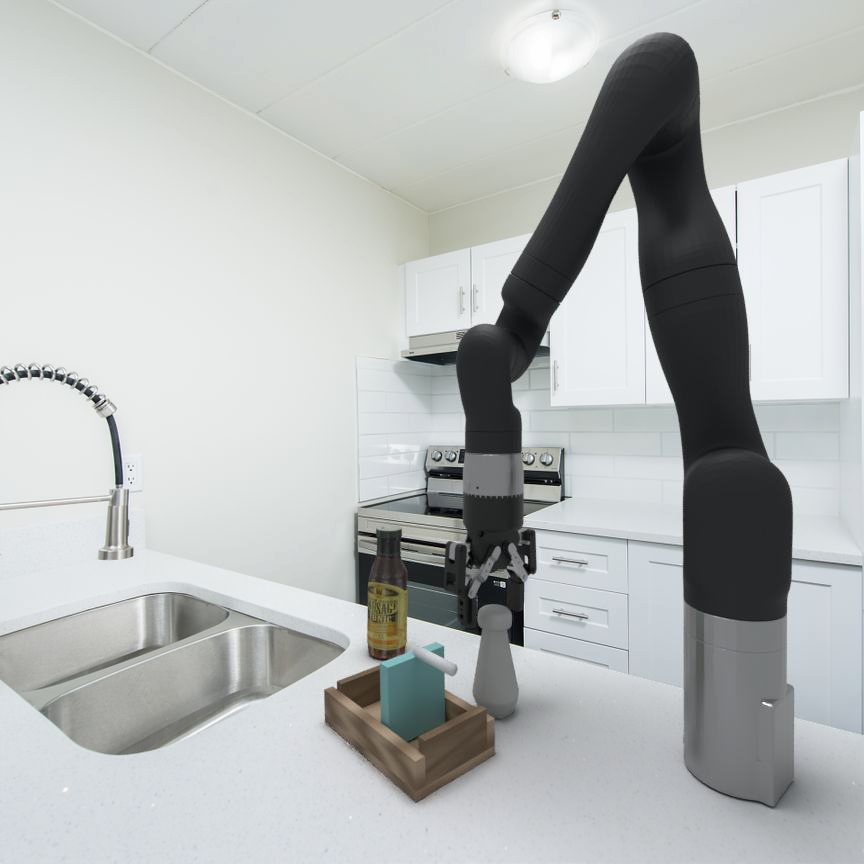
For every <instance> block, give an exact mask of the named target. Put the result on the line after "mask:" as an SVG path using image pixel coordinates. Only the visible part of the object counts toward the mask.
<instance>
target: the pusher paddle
mask: <svg viewBox="0 0 864 864" xmlns="http://www.w3.org/2000/svg"><path fill="white" fill-rule="evenodd" d="M379 665H380V697H381V723H382V724H383V725H385V726H386V727H387V728H389V729H390V730H391V731H393V732H394V733H395V734H397V735H398V736H399V737H400V738H402V739H403V740H404V741H406V742H407V741H409V740H411V739H413V738H415V737H417V736H419V735H421V734H423V733H425V732H427V731H429V730H431V729H433V728H435V727H437V726H439V725H441V724H443V723H445V690H446V689H445V688H446V681H445V680H446V678H445V676H446V675H445V674H447V675H448V676H450V677H454V676H456V674H457V673H458V670H459V669H458V666H457V664H455V663H454V662H452V661H449V660H447V659H445V646H444V645H443V644H442V643H438V642H432V643H429V644H427V645H424V646H420V645H416V646H415V647H414V648H413V650H411V651H408V652H404V653H403V654H402V655H400V656H397V657H394V658H392V659H385V660H384V661H381V662H379Z"/></svg>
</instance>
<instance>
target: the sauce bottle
mask: <svg viewBox="0 0 864 864" xmlns="http://www.w3.org/2000/svg"><path fill="white" fill-rule="evenodd" d="M402 536H403V529H402V527H401V526H398V525H390V524H388V525H386V524H385V525H380V526H377V527H376V530H375V538H376V552H375V553H376V556H375V558H374V562H373V563H372V566H371V568H370V572H369V578H368V583H367V622H366V623H367V624H366V625H367V626H366V627H367V629H366V630H367V631H366V643H367V651H368V654H369V655H370V656H371V657H373V658H375V659H379V660H383V659H385V660H389V659H392V658H394V657H397V656H400V655H402V654H405V653H406V645H407V643H408V596H409V595H408V591H409V590H408V589H409V588H408V569H407V566H406V565H405V563H404V562H403V558H402V556H401V554H402V551H401V539H402Z"/></svg>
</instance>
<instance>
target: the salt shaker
mask: <svg viewBox="0 0 864 864" xmlns="http://www.w3.org/2000/svg"><path fill="white" fill-rule="evenodd" d="M476 620H477V624H478V627H480V628H481V633H480V634H481V635H480V642H479V648H478V654H477V660H476V667H475V672H474V678H473V684H472V691H471V692H472V696H473V699H474V702H475V703H476V704H475V705H476V707H477V706H479V705H481V706H483V707H485V708H486V709H487V714H488V715H490V716H492V717H493V718H495V719H500V720H501V719H502V720H503V719H505V718H506V717H509V716H510V715H512V714H513V712H514V710H515V707H516V705H517V702H518V700H519V693H520V691H519V684H518V680H517V675H516V671H515V670H516V669H515V664H514V661H513V660H514V659H513V654H512V650H511V644H510V639H509V633H508V630H509V629H510V628H511V627H512V621H513V615H512V611H511V609H509V608H508V606H507V605H502V604H496V603H494V604H493V603H492V604H485V605H483V606H481V607H480V608H479V610H478V613H477V616H476Z"/></svg>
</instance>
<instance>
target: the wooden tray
mask: <svg viewBox="0 0 864 864" xmlns="http://www.w3.org/2000/svg"><path fill="white" fill-rule="evenodd" d="M323 692H324V693H323V695H324V696H323V698H324V701H323V702H324V723H326V724H327V725H328V726H329V727H330V728H331V729H332V730H333V731H335V732H336V733H337V734H338V735H339V736H340V737H341V738H343V740H345V741H346V742H347V743H348V744H349V745H351V747H353V749H355V750H356V751H357V752H358V753H359V754H361V755H362V756H363V757H364V758H365V759H366V760H367V761H369V763H371V764H372V765H373V766H375V768H377V769H378V770H379V771H380V772H381V773H383V775H384V776H386V777H387V778H388V779H389V780H390V781H391V782H392V783H394V784H395V785H396V786H397V787H398V788H399V789H400V790H401V791H402V792H403V793H404V794H406V795H407V796H408V797H410V798H411V799H412V801H414V802H415V803H417V802H419V801H421V800H422V799H424V798H425V797H428V796H429V795H430V794H432V793H434V792H436V791H437V790H438V789H440V788H442V787H444V786H446V785H447V784H448V783H449V784H450V783H451V782H452V781H454V780H455V779H457V778H458V777H460V776H462V775H464V774H466V773H467V772H469V771H471V770H472V769H473V768H475V767H476V766H478V765H480V764H482V763H483V762H484V761H486V760H488V759H489V758H491V757H492V756H494V755H496V729H495V728H496V727H495V725H496V721H495V720H496V718H493V717H492V716H490V715H488V714H487V709H486V708H485V707H483V706H481V705H479V706H477V705H476V706H474V705H473V704H471V703H469V702H468V701H466V700H464V699H462V698H460V697H459V696H457V695H455V694H453V693H452V692H450V691H449V690H447V689H445V723H443V724H441V725H439V726H437V727H435V728H433V729H431V730H429V731H427V732H425V733H423V734H421V735H419V736H417V737H415V738H413V739H411V740H409V741H407V742H406V741H404V740H403V739H402V738H400V737H399V736H398V735H397V734H395V733H394V732H393V731H391V730H390V729H389V728H387V727H386V726H385V725H383V724H382V723H381V697H380V664H379V665H376V666H373V667H371V668H368V669H365V670H363V671H360V672H358V673H355V674H352V675H350V676H346V677H344V678H342V679H339V680H336V687H335V686H334V685H332V686H330V687H327V688H324V689H323Z"/></svg>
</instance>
